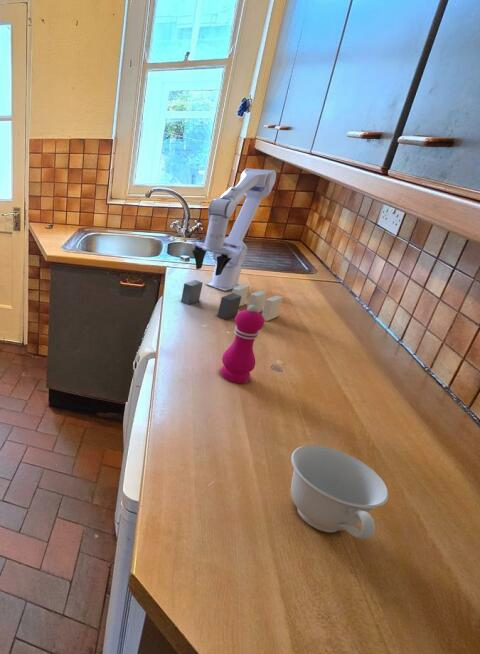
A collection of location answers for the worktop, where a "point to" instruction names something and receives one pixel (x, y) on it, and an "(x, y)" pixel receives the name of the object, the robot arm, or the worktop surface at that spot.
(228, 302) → the grey book
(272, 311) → the white book
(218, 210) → the robot arm
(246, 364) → the pepper mill
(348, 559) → the worktop surface
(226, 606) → the worktop surface
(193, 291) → the grey book
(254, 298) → the white book
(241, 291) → the white thin book
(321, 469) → the teacup
